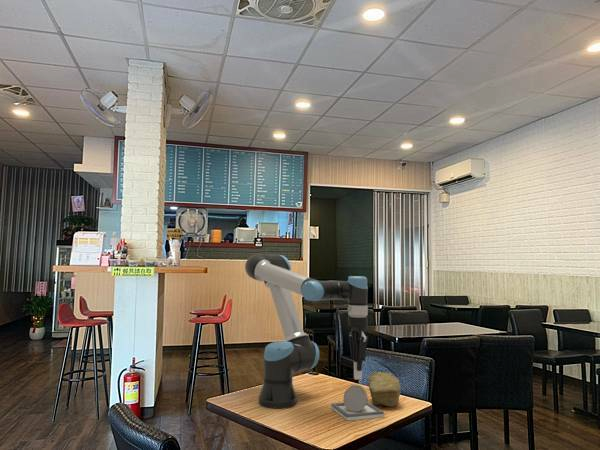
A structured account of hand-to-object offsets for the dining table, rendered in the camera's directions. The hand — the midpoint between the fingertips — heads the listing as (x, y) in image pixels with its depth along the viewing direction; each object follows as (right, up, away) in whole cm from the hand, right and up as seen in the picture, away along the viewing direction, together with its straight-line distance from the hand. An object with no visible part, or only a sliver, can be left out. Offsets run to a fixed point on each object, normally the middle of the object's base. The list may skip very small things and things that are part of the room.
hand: (357, 378), depth 169 cm
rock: (+13, -14, +11) cm, 22 cm away
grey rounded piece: (-1, -12, -1) cm, 12 cm away
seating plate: (0, -12, -1) cm, 13 cm away
